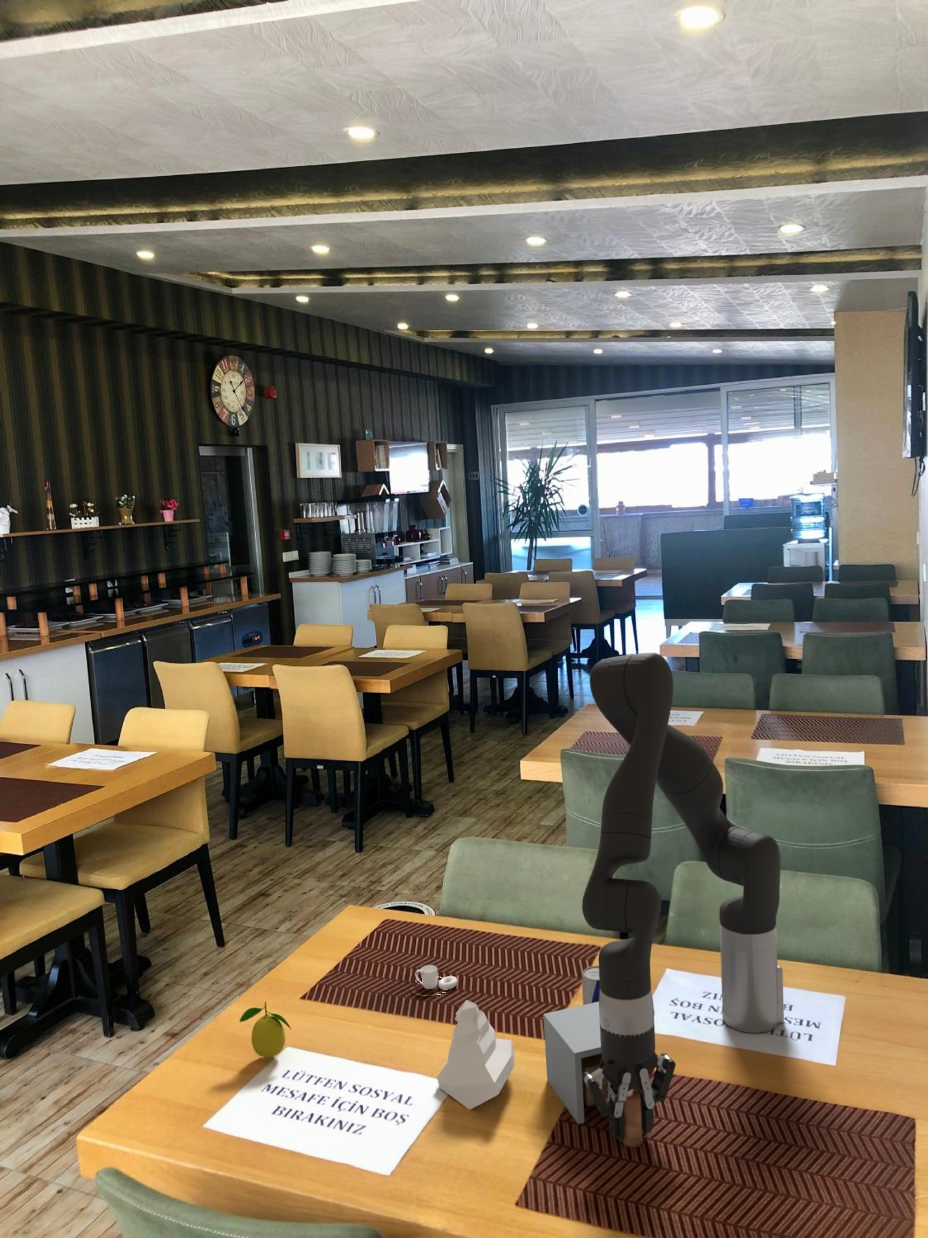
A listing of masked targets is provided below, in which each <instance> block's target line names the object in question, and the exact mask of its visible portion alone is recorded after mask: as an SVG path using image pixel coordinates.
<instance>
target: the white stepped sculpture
mask: <svg viewBox="0 0 928 1238" xmlns="http://www.w3.org/2000/svg"><path fill="white" fill-rule="evenodd" d="M455 1015H456V1016H455V1018H454V1020H455V1021H456V1022H457V1024H456V1026H455V1027H454V1029H453V1031H452V1040H451V1042H450V1043H451V1044H450V1047H449V1051H448V1057H447V1059H446V1061H445V1063H444V1064H443V1066H442V1068H441V1069H440V1071H439V1073H438V1074H437V1076H436V1079H437V1080H436V1081H437V1083H438V1087H439V1089H440V1090H442V1091H444V1093H446V1094H447V1095H449V1096H450V1097H452V1098H453V1099H454V1100H456V1101H457V1102H458V1103H460V1104H461V1105H462V1106H464V1107H465V1108H466V1109H468V1110H469V1111H470V1110H472V1109H474V1108H476V1107H478V1106H480V1105H482V1104H484V1103H485V1102H487V1101H489V1100H491V1099H493V1098H494V1097H497V1096H498V1095H499V1093H500V1092H501V1091H502V1089H503V1087H504V1086H505V1083H506V1081H507V1080H508V1078H509V1076H510V1075H511V1073H512V1071H513V1070H514V1068H515V1049H514V1045H513V1041H512V1040H511V1039H505V1038H504V1039H503V1038H499V1037H497V1035H496V1030H495V1029H494V1028H493V1026H492V1025H491V1024H490V1022H489V1020H488V1018H487V1016H486V1014H485V1011H482V1010H480V1009H479V1007H478V1004H476V1003H475V1002H473V1001H470V1000H468V999H466V1000H465V1001H464V1002H463V1003H462V1005H461V1006H460V1008H458V1010H457V1011H456V1013H455Z"/></svg>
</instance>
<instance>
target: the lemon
mask: <svg viewBox="0 0 928 1238" xmlns="http://www.w3.org/2000/svg"><path fill="white" fill-rule="evenodd" d="M263 1009H264V1011H265V1013H264V1015H263V1016H261V1017H259V1018H258V1019H257V1020H256V1022H255V1023H254V1024H253V1028H252V1031H251V1044H252V1049H253V1050H254V1052H255V1053H256V1054H257V1055H258V1056H260V1057H263V1058H267V1059H268V1060H272V1059H273V1058H274V1057H275V1056H277V1055H278V1054H280V1053H281V1052H282V1050H283V1048H284V1046H285V1043H286V1033H285V1028H284V1026H283V1024H284V1025H285V1026H287V1027H288V1028H289V1029H290V1030H292V1028H291V1026H290V1024H289V1023H288V1021H287V1020H286V1019H285V1018H284V1017H283V1016H282V1015H280V1014H278V1013H271V1012H269V1011H268V1010H267V1001H264V1007H262V1008H261V1007H260V1008H259V1007H250V1008H248V1009H246V1010H245V1011H244V1012H243V1013H242V1015H241V1017H240V1020H239V1022H238V1023H241V1022H246V1021H248V1020H250V1019H253V1017H255V1016H257V1015H258V1014H260V1013H261V1012H262V1010H263ZM282 1023H283V1024H282Z"/></svg>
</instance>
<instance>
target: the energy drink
mask: <svg viewBox="0 0 928 1238" xmlns="http://www.w3.org/2000/svg"><path fill="white" fill-rule="evenodd" d="M581 987H582V988H581V989H582V1005H586V1004H590V1003H595V1002H599V995H600V981H599V965H593V966H587V967H586V968H585V969H584V970H583V971H582V976H581Z"/></svg>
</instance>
